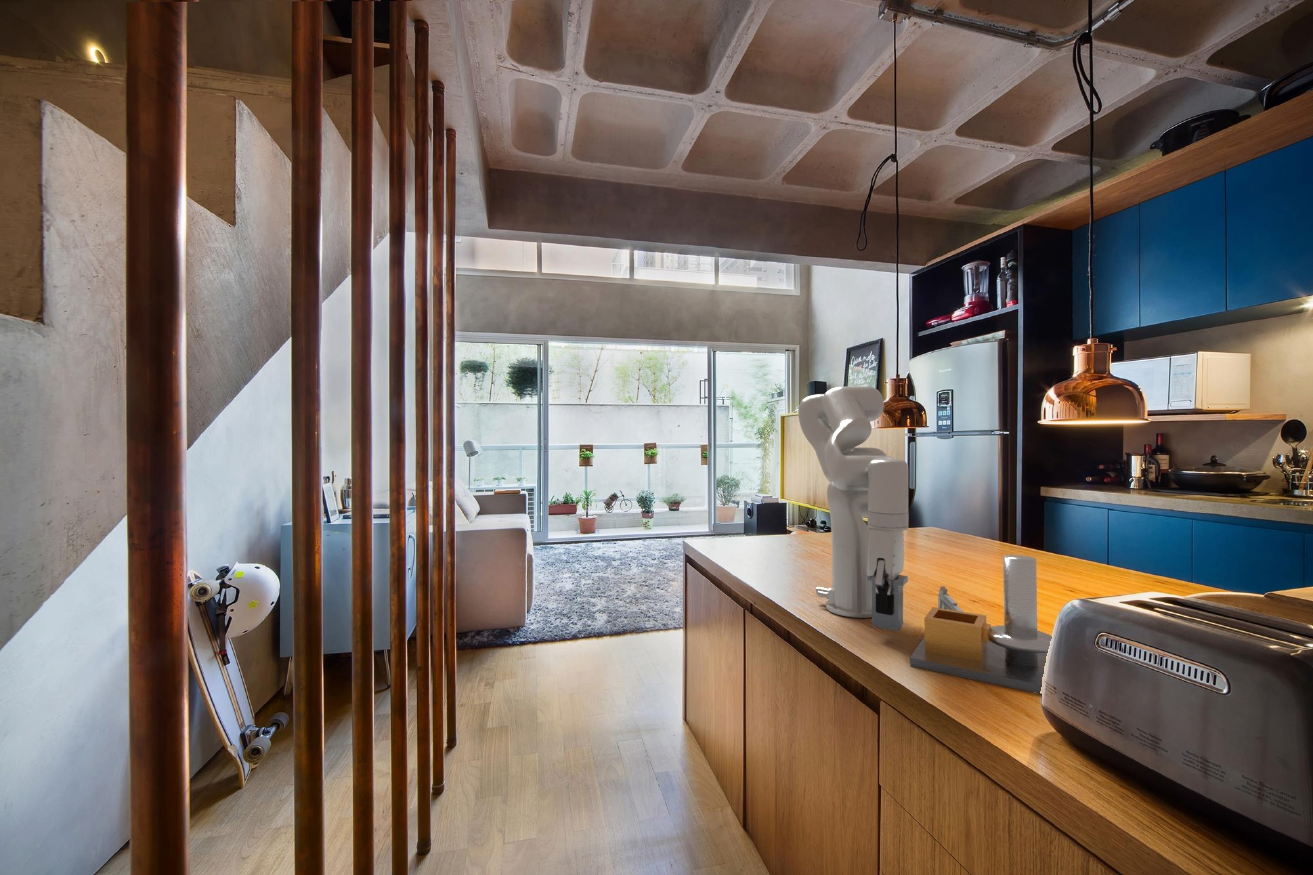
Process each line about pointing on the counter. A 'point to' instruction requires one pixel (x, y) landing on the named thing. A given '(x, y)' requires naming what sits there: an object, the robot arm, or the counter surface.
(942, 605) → the caliper
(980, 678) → the post
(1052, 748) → the counter surface
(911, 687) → the counter surface
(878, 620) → the tall grey pillar block
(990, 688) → the counter surface
